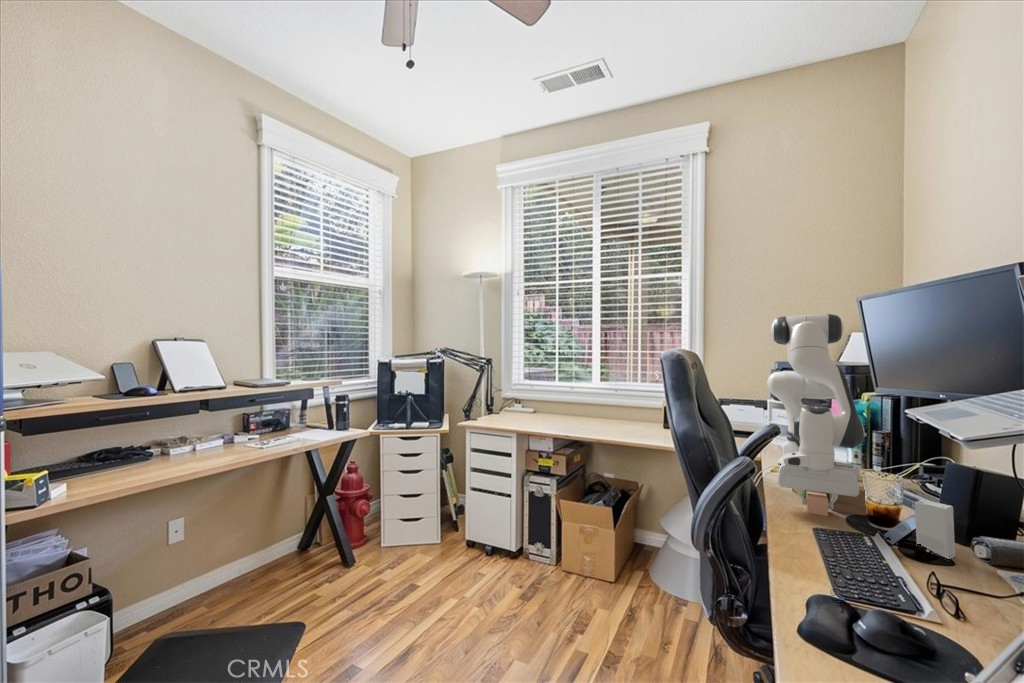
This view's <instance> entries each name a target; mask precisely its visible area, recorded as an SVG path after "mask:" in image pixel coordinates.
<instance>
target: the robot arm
mask: <svg viewBox="0 0 1024 683" xmlns="http://www.w3.org/2000/svg"><path fill="white" fill-rule="evenodd" d="M844 332H845V326H844V323H843V321H842V319H841V317H840V316H839V315H837V314H832V313H826V314H817V313H816V314H815V313H814V314H811V313H808V314H798V315H789V316H786V315H784V316H779V317H776V318H775V319H774V320H773V322H772V324H771V327H770V334H771V337H772V339H773V342H775V343H777V345H778V344H779V345H783V346H786V345H787V362H788V364H789V365H790V366H791V368H792V369H793V370H783V371H776V372H772V373H771V374H770V375H769V376H768V378H767V382H766V386H767V390H768V391H769V392H770V393H771V394H772V395H773V396H774V397H776V398H777V399H778V400H779V401H780V402H781V403H782V405H783V406H784V409H785V411H786V418H787V430H786V442H784V443H783V444H782V446H781V457H780V458H779V459H778V460H777V462H776V464H777V463H779V464H778V465H779V469H778V473H777V474H778V475H777V484H778V486H779V487H781V488H785V489H791V490H792V489H797V493H796V494H797V495H798V496H799V497H800V503H801V505H802V506H803V505H805V506H806V505H807V498H804V497H803V495H802V494H801V493H803V490H807V491H814V492H822V493H829V494H831V495H832V499H831V500H830V501H829V500H828V509H830V510H832V509H833V503H834V502H835V501H836V500H837V499H838V495H845V496H852V497H857V496H858V495H859V485H858V483H859V482H858V479H859V478H860V477H861V471H860V468H859V467H858V466H857V465H854V464H853V463H845V462H840V461H839V462H838V461H835V460H836V459H835V456H836V455H835V453H836V452H835V447H834V446H836V447H841V448H846V449H855V448H856V447H858V446H860V445H861V444H862V443H864V441H865V437H866V436H865V434H866V433H865V428H864V425H863V423H862V420H861V418H860V416H859V413H858V411H857V408H856V405H855V401H854V397H853V394H852V391H851V388H850V386H849V382H848V380H847V377H846V374H845V372H844V371H843V369H842V368H841V367H839V366H838V365H836V364H835V363H834V361H833V360H832V359H831V357H830V351H829V350H830V349H829V345H830V344H836V343H838V342H839V341H840V340H842V337H843V335H844ZM802 399H808V400H809V399H810V400H812V399H813V400H828V399H835V400H836V403H837V407H838V410H839V414H833V413H832V410H831V409H830V408H829V407H827V406H824V405H820V404H808V405H806V404H803V401H802ZM780 464H781V465H780Z"/></svg>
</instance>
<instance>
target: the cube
mask: <svg viewBox="0 0 1024 683" xmlns="http://www.w3.org/2000/svg"><path fill="white" fill-rule="evenodd" d="M806 498H807V505H805V506H806V511H807V513H808V514H814V515H819V516H825V517H828V516H829V508H828V501H829V499H828V498H827V495H826V494H823V493H815V492H808V491H806Z"/></svg>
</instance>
